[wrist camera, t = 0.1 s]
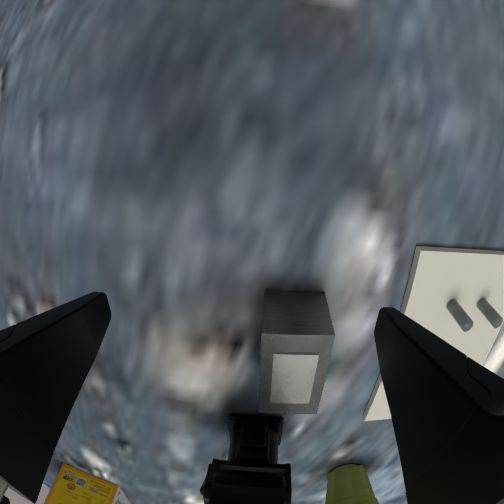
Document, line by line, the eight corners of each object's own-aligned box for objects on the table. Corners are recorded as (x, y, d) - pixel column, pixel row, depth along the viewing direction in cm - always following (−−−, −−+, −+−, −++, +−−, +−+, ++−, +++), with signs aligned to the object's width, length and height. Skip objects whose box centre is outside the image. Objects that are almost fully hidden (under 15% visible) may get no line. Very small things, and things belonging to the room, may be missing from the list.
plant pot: (378, 472, 38) (384, 512, 31) (326, 485, 41) (328, 525, 33) (370, 452, 35) (378, 500, 28) (310, 467, 38) (312, 514, 30)
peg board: (455, 402, 30) (465, 426, 26) (362, 414, 32) (368, 443, 27) (521, 252, 22) (546, 271, 18) (415, 245, 23) (439, 269, 19)
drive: (312, 367, 29) (316, 415, 23) (262, 366, 29) (258, 413, 24) (324, 291, 25) (335, 336, 20) (265, 289, 26) (261, 334, 20)
